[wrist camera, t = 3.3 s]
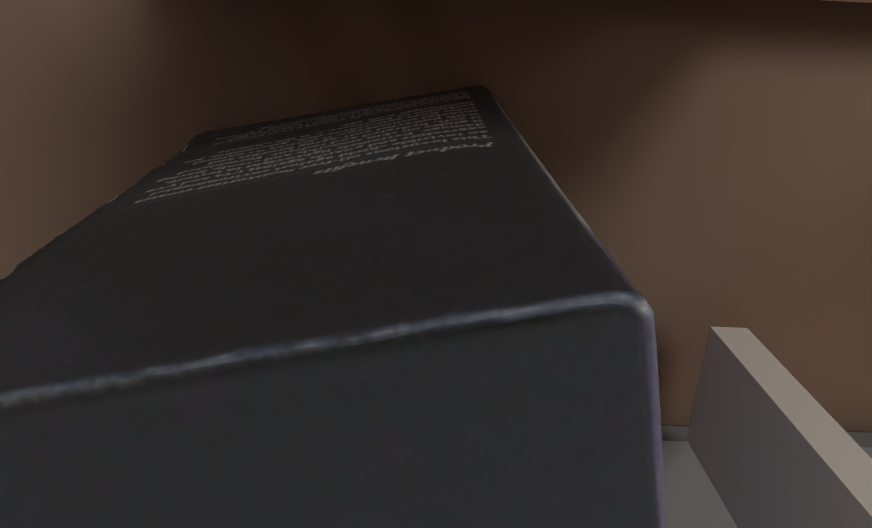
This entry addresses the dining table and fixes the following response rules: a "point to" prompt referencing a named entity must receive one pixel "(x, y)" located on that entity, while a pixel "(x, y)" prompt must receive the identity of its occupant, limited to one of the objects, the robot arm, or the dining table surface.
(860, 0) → the stop rail
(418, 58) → the dining table surface
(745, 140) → the dining table surface
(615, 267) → the small box
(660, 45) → the dining table surface
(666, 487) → the felt mat
